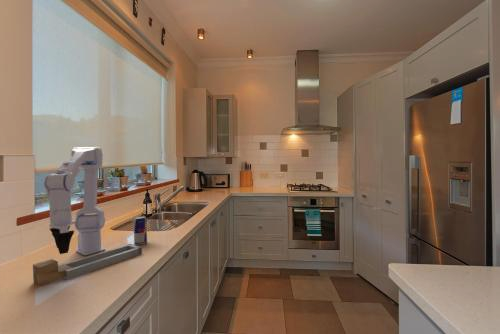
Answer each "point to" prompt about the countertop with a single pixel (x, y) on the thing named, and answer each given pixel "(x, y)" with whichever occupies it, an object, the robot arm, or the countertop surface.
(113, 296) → the countertop surface
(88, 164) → the robot arm
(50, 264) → the block
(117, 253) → the channel
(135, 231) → the energy drink
